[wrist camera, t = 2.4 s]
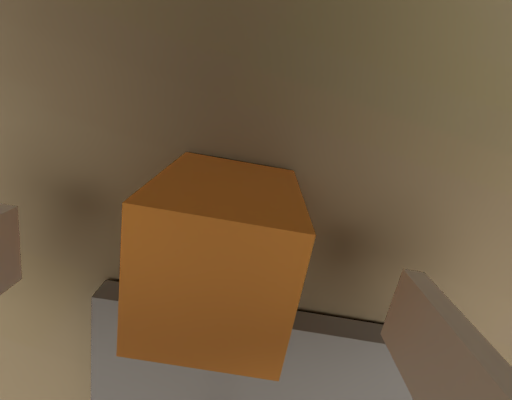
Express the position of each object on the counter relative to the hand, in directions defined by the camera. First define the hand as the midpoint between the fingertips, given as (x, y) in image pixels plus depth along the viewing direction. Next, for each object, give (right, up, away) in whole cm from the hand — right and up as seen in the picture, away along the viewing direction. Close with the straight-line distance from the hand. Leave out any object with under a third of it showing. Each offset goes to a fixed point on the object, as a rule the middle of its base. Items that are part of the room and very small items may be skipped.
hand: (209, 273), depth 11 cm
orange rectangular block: (0, +2, +5) cm, 5 cm away
